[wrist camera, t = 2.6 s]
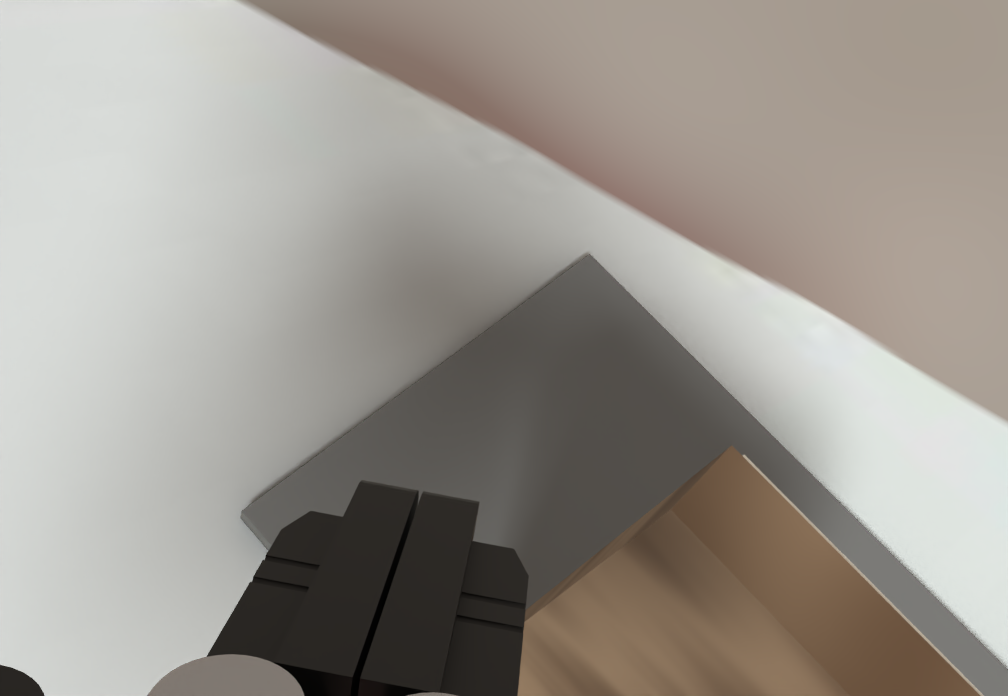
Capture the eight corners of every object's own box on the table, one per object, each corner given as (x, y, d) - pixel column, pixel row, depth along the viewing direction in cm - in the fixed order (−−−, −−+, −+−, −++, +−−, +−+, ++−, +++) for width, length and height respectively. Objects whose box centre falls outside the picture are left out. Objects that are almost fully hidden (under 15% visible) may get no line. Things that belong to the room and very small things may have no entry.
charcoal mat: (240, 518, 27) (241, 510, 27) (583, 262, 36) (589, 253, 35) (859, 1241, 23) (874, 1248, 23) (1077, 755, 32) (1092, 753, 31)
